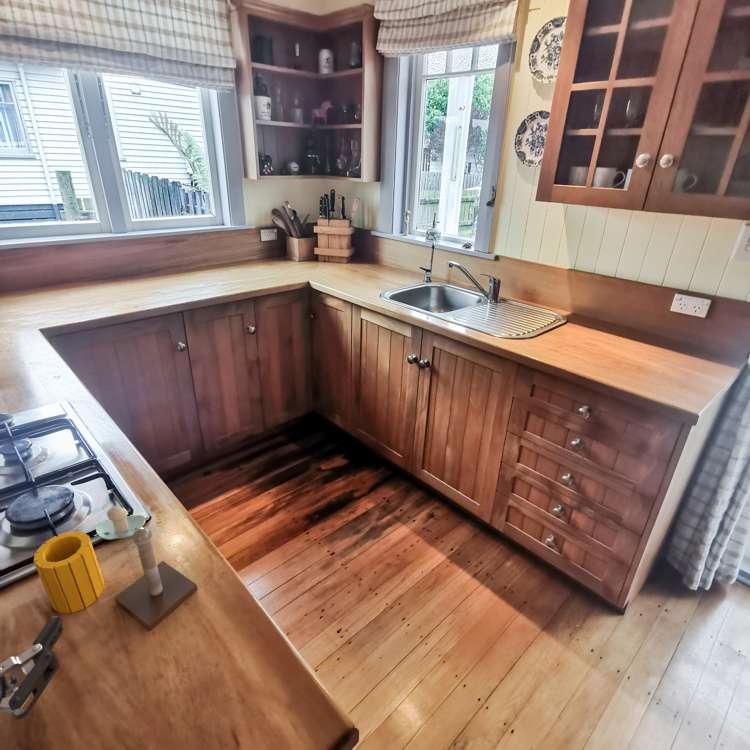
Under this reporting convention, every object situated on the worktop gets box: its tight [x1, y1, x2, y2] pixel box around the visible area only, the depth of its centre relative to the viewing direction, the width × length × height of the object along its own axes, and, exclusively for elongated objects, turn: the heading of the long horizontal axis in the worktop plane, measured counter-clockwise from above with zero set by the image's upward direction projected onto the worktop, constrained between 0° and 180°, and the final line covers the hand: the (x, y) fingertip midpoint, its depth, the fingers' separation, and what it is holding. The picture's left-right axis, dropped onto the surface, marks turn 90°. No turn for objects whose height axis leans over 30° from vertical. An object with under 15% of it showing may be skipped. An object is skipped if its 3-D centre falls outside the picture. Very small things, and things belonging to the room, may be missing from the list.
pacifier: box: [95, 506, 146, 541], centre depth 78 cm, size 7×6×6 cm
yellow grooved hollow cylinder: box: [33, 530, 105, 614], centre depth 66 cm, size 7×7×9 cm
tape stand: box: [114, 526, 199, 632], centre depth 65 cm, size 8×8×13 cm
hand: (23, 619), depth 57 cm, fingers open, 8 cm apart
